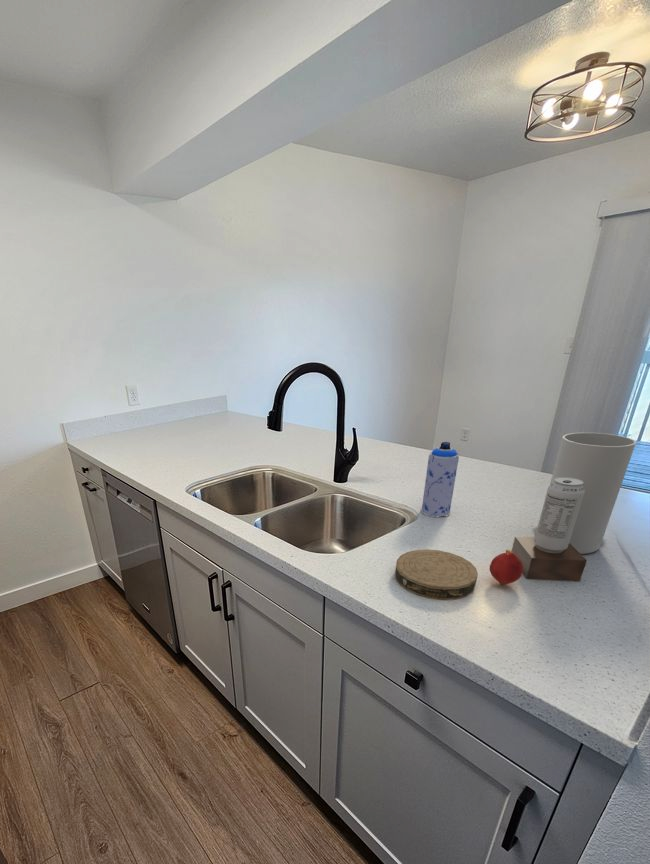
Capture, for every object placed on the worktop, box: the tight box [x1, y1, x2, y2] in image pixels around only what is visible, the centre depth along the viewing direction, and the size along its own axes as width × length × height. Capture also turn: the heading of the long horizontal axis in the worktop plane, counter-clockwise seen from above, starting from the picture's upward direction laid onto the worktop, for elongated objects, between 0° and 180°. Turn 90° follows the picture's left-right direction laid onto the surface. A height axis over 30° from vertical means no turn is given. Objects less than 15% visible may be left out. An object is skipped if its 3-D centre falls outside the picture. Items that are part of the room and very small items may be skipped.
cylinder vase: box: [549, 432, 637, 555], centre depth 98 cm, size 12×12×25 cm
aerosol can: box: [420, 441, 460, 517], centre depth 120 cm, size 8×8×20 cm
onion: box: [489, 549, 523, 586], centre depth 88 cm, size 6×6×8 cm
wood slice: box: [394, 548, 479, 601], centre depth 92 cm, size 16×16×3 cm
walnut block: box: [511, 536, 587, 582], centre depth 93 cm, size 10×10×5 cm
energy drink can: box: [534, 477, 585, 553], centre depth 89 cm, size 6×6×15 cm
